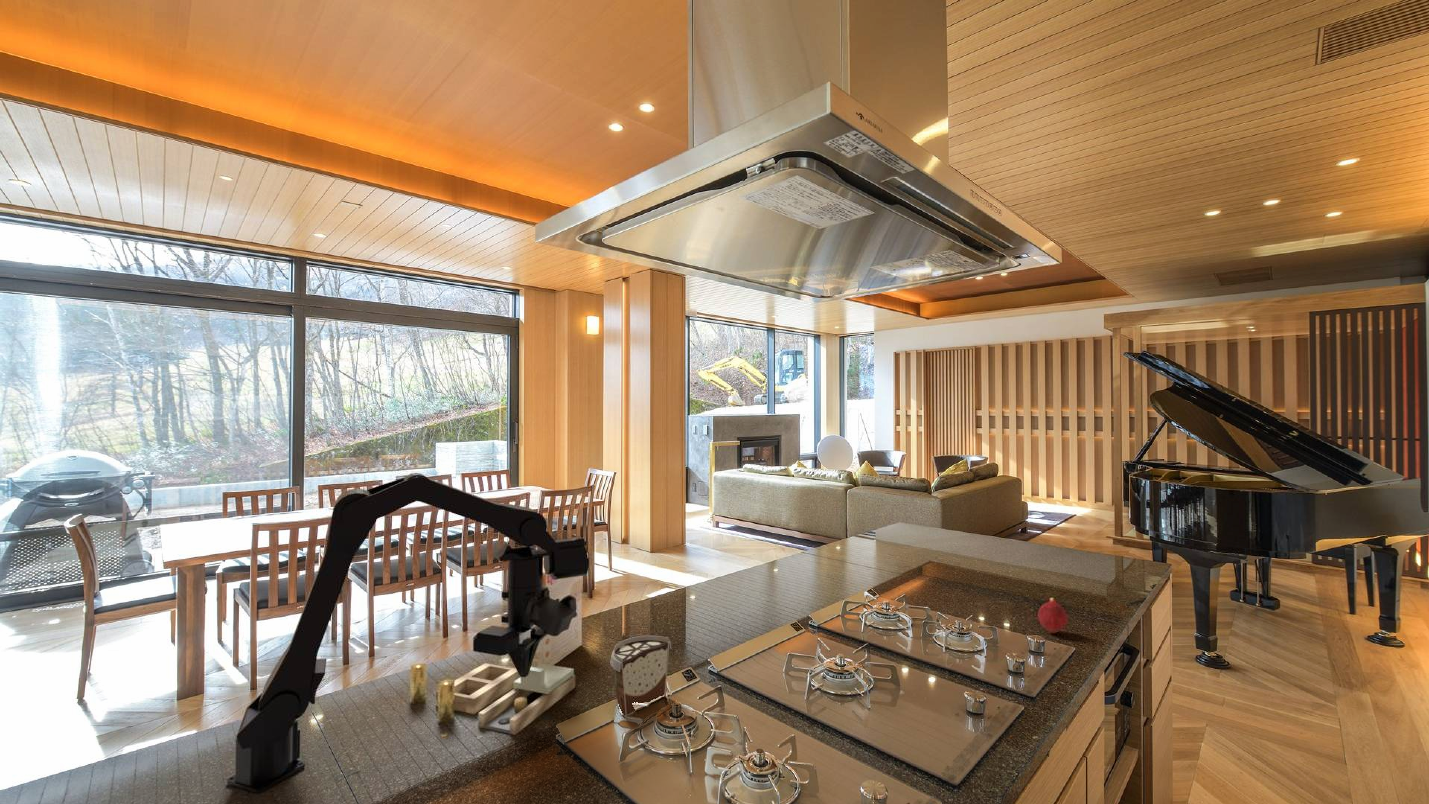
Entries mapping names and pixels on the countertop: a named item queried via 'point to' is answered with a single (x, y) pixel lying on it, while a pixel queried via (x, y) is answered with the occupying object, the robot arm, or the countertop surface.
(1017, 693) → the countertop surface
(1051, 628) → the onion
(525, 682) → the lid
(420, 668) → the pin
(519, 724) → the housing
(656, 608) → the countertop surface
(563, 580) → the coffeecake box
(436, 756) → the countertop surface
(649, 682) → the food container
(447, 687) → the pin
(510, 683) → the socket board
